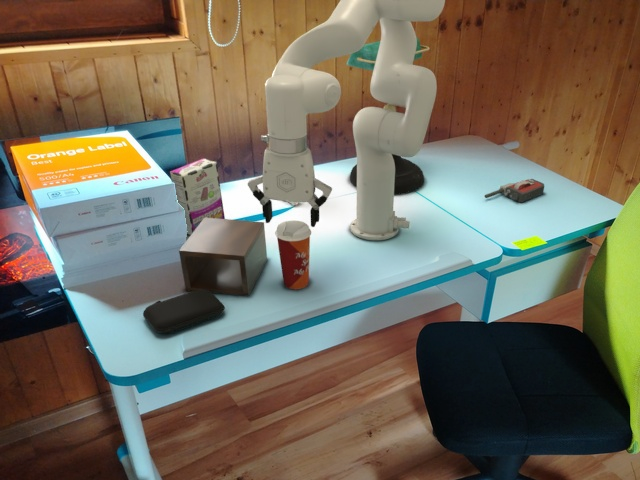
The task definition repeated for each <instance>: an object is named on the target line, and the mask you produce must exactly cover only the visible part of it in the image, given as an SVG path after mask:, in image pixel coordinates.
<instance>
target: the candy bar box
mask: <svg viewBox="0 0 640 480" xmlns="http://www.w3.org/2000/svg"><path fill="white" fill-rule="evenodd" d="M218 169H219V168H218V162H217V161H213V160H211V159H208V158H205V157H204V158H200V159H198V160H196V161H193V162H191V163H187V164H186V165H183V166H181V167H178V168H176V169H173V170H171V171H169V175H170V180H171V182H172V181H173V182H174V183H175V186H176V195H177V200H178V203H179V204H180V205H181V206H182V207H183V208H184V210H185V218H186V224H187V231H188V232H187V234H186V235H188V236H191V234H192V233H193V232H194V230H195V229H196V228H197V227H198V225H199V224H200V223H201V221H202V220H203V219H204V218H216V219H226V218H225V216H226V215H225V211H224V203H223V197H222V191H221V183H220V178H219V176H220V175H219V170H218Z"/></svg>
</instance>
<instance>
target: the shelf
mask: <svg viewBox="0 0 640 480" xmlns="http://www.w3.org/2000/svg"><path fill="white" fill-rule="evenodd" d="M267 252H268V251H267V243H266V230H265V222H264V221H253V220H239V219H228V218H225V219H216V218H204V219H203V220H202V221H201V223H200V224H199V225H198V227H197V228H196V229H195V230H194V232H193V233H192V234H191V235H189V237H188V238H187V239H186V241H185V242H184V243H183V244H182V245H181V247H180V249H179V250H178V253H179V259H180V264H181V271H182V276H183V281H184V287H185V291H187V292H192V291H196V290H199V289H206V290H208V291H210V292H211V293H212V294H221V295H233V296H245V297H249V296H250V295H251V292H252V290H253V289H254V287H255V284H256V283H257V281H258V279H259V277H260V275H261V273H262V272H263V269H264V268H265V265H266V263H267V261H268V253H267Z"/></svg>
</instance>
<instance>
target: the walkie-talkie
mask: <svg viewBox="0 0 640 480" xmlns="http://www.w3.org/2000/svg"><path fill="white" fill-rule="evenodd" d="M544 191H545V183H543V182H541V181H538V180H536V179H534V178H528V179H524V180H520V181H516V182H510V183H506V184H504V185H500V188H499V189H497V190H494V191H492V192H490V193H486V194H484V198H485V199H488V198H490V197H494V196H496V195H498V194H502V195H504V197H507V198H509V199H512V200H513V201H516V202H518V203H523V202H526V201H528V200H531V199H533V198H535V197H538V196H541V195H543V194H544Z"/></svg>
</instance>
